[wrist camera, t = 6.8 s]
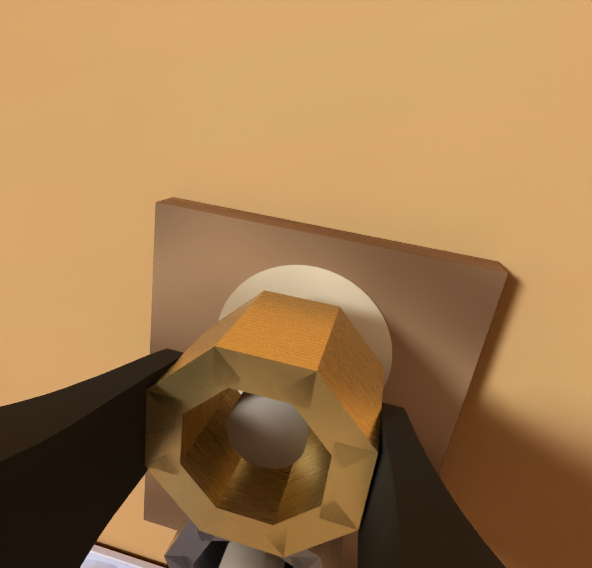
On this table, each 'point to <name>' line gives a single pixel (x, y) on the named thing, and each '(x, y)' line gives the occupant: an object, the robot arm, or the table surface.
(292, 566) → the gear
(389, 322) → the board
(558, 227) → the table surface
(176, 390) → the gear
